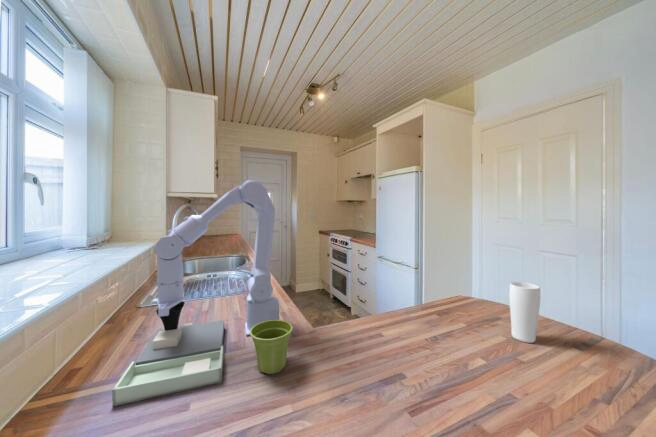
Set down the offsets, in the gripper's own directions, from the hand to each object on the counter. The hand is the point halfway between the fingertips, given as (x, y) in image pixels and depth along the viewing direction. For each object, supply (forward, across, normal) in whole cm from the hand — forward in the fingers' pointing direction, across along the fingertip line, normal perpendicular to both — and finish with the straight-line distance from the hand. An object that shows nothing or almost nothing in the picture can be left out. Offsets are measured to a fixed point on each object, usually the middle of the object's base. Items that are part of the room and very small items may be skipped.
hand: (171, 332), depth 65 cm
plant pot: (+3, +18, +24) cm, 30 cm away
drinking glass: (+3, +30, +91) cm, 95 cm away
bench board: (+3, +3, +4) cm, 6 cm away
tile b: (+1, +4, 0) cm, 4 cm away
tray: (+3, +15, +4) cm, 16 cm away
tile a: (+1, +17, +8) cm, 19 cm away
